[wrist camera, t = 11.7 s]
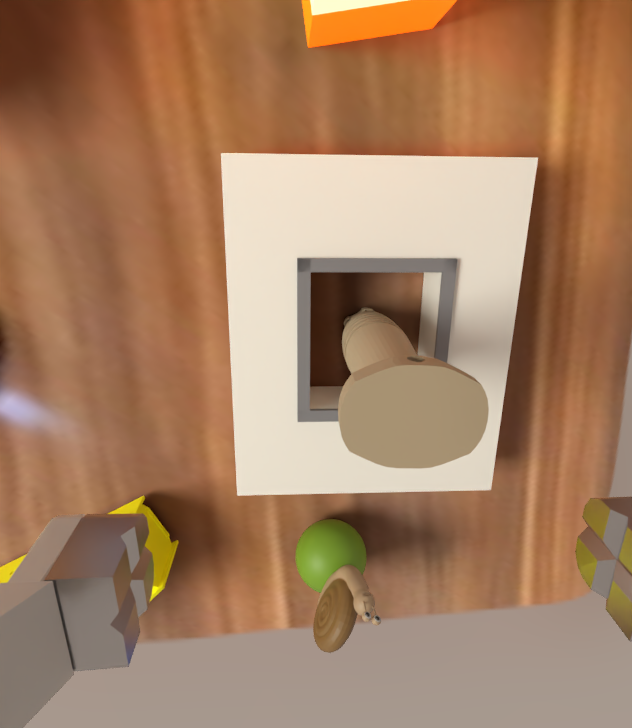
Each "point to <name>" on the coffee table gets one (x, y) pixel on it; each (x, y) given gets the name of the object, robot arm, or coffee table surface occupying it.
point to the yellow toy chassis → (155, 543)
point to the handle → (405, 399)
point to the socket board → (364, 254)
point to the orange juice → (368, 18)
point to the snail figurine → (335, 580)
